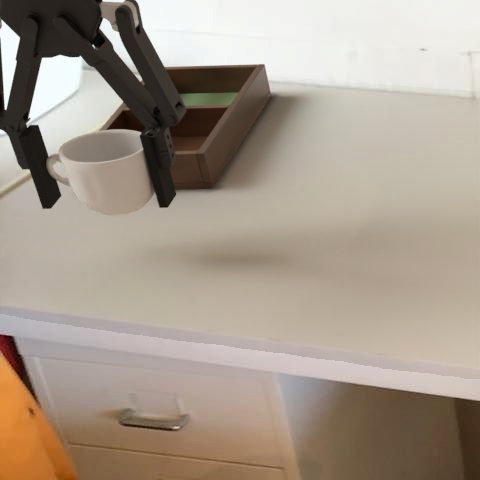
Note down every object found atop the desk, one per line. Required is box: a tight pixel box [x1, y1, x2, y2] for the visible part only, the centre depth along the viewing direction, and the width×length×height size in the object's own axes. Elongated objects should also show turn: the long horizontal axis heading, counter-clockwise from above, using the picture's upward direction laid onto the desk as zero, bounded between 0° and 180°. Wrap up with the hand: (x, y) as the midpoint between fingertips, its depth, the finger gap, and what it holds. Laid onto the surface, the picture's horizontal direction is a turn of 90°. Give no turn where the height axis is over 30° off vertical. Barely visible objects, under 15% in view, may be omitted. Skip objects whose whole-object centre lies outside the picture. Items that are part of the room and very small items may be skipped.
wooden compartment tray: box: [98, 63, 272, 190], centre depth 141 cm, size 13×25×4 cm, turn 178°
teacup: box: [46, 129, 156, 216], centre depth 116 cm, size 10×8×5 cm
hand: (110, 201), depth 117 cm, fingers closed on teacup, 10 cm apart
